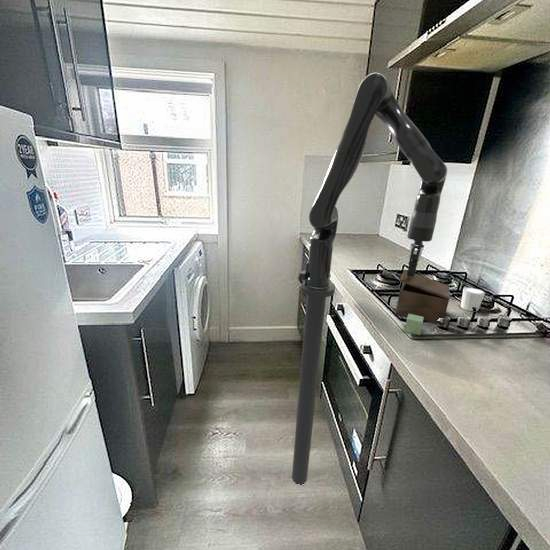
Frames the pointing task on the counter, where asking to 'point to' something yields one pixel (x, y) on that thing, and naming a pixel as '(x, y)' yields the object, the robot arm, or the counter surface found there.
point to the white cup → (471, 298)
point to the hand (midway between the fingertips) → (411, 273)
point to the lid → (426, 284)
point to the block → (414, 324)
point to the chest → (421, 304)
